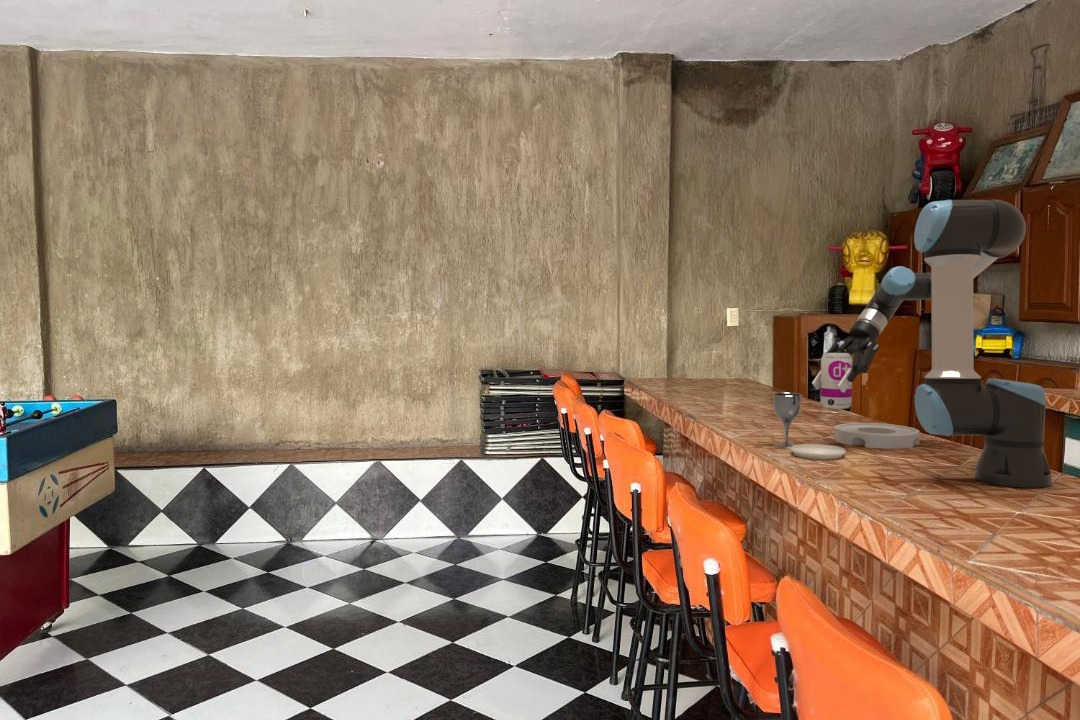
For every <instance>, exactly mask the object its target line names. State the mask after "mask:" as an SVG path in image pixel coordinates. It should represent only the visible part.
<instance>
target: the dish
mask: <svg viewBox="0 0 1080 720" xmlns="http://www.w3.org/2000/svg"><path fill="white" fill-rule="evenodd" d="M790 452H792V453H793V455H794V456H795V457H798V458H801V459H802V458H803V459H808V460H819V461H828V460H829V461H830V460H838V459H842V458H843V456H844V455H845V454H846V449H845V448H843V447H841V446H837V445H833V444H821V443H801V444H795V445H793V446H791V448H790Z"/></svg>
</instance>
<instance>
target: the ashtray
mask: <svg viewBox="0 0 1080 720" xmlns="http://www.w3.org/2000/svg"><path fill="white" fill-rule="evenodd" d="M920 436H921V435H920V430H919V429H917V428H914V427H910V426H905V425H898V424H892V423H891V424H890V423H877V422H876V423H875V422H852V423H851V422H850V423H842V424H841V423H840V424H837V425H835V426H834V441H836V442H838V443H840V444H843V445H847V446H864V447H865V448H868V449H869V448H871V449H886V450H887V449H888V450H889V449H893V450H894V449H895V450H896V449H909V448H910V449H911V448H914V446H919V445H920Z"/></svg>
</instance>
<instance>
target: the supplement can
mask: <svg viewBox="0 0 1080 720" xmlns="http://www.w3.org/2000/svg"><path fill="white" fill-rule="evenodd" d="M820 359H821V387H820V399H819V400H820V406H822V407H823V408H826V409H836V410H837V409H839V410H841V409H843V410H844V409H850V407H851V406H852V401H853V399H852V398H853V395H852V394H853V393H852V391H853V385H852V384H853V382H851V383H850V385H849V386H848V388H847V389H846V391H845V392H842V391H841V390H840V389H839V387H838V386H837V385H838V384H839V382H840V381H841V379H842V378H843V376H844V375H845V374H846V372H847V371H848V369H849V368H852V367H851V366H852V365H853V358H852V356H851V355H850V354H849V353H847V352H846V353H826V352H824V353H823V355H822V356H821V358H820ZM852 369H853V368H852Z"/></svg>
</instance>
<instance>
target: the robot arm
mask: <svg viewBox="0 0 1080 720" xmlns="http://www.w3.org/2000/svg"><path fill="white" fill-rule="evenodd" d="M914 228H915V229H914V234H913V235H914V236H913V242H914V247H915V250H917V252H920V253H921V254H923V253H924V255H923V257H924V258H923V260H924V262H925V263H927V265H928V266H930V268H931V272H913V270H912V269H910V268H909V267H908V268H907V267H905V266H901V265H900V266H899V265H898V266H894V267H892V268H890V269H889V270H888V271H887V272H886V274H885V275H884V276H883V278H882V281H881V282H880V284H879V286H878V287H877V289H876V290H875V292H874V293H873V295H872V297H871V298H870V300H869V301H868V303H867V305H866V306H865V308H864V309H863V310H862V311H861V313H860V315H859V316H858V317H857V318H856V321H855V322H854V324H853V325H852V327H851V328H850V329H849V332H848V333H849V334H848V336H847V338H845V339H844V340H840V339H836V340H835V341H834V343H833V345H832V346H831V347H830V348H829V349H828V350H827V351H826V352H825V353H849V354H850V356H851V355H853V360H852V366H851V367H852V368H849V369H848V371H847V372H846V374H845V375H844V376H843V378H842V379H841V381H840V382H839V384H838V385H837V386H838V387H839V389H840V390H841V391H842V392H845V391H846V389H847V388H848V386H849V385H850V383H851V382H852V383H853V382H855V379H856V378H857V377H858V375H860V374H861V373H863V374H866V373H868V371H869V369H870V366H871V364H872V362H873V359H874V357H875V355H876V353H877V352H878V351H879V350H880V349H881V348H880V345H879V344H878V343H877V340H878V339H879V337H880V334H881V333H882V332H883V331H884V329H885V328H886V326H887V325H888V323H889V321H890V320H891V319H892V317H893V316H894V315H895V313H896V311H897V310H898V309H899V308H900V306H901V304H902V303H903V302H904V301H931V370H930V371H929V372H928V373H927V374H926V375H924V383H922V384H920V385H918V386H917V387H916V389H915V394H914V408H915V413H916V417H917V420H918V422H919V424H920V426H921V427H922V429H924V430H925V432H927V433H928V434H930V435H936V436H937V435H938V436H945V437H951V436H984V446H983V448H982V452H981V453H980V456H979V459H978V461H977V463H976V466H975V470H974V471H975V473H974V477H975V479H977V480H978V481H980V482H984V483H989V484H993V485H997V486H1005V487H1011V488H1023V489H1024V488H1027V489H1029V488H1031V489H1032V488H1033V489H1035V488H1036V489H1037V488H1039V489H1040V488H1046V487H1049V486H1052V476H1053V475H1052V471H1051V469H1050V467H1049V462H1048V460H1047V457H1046V453H1045V449H1044V444H1045V443H1044V442H1045V424H1046V408H1047V401H1046V400H1047V398H1046V391H1045V389H1044V388H1043V386H1041V385H1038V384H1035V383H1029V382H1023V381H1017V380H1009V379H999V378H988V379H987V380H986V382H985V384H982V377H981V375H980V374H978V373H977V372H976V371H975V368H974V367H975V366H974V279H975V278H976V277H978V275H979V274H981V273H983V272H984V271H985V270H986V269H987V268H988V267H989V266H990V265H992V264H993V263H994V262H996V261H997V260H998V259H1003V258H1006V257H1008V256H1009V255H1011V254H1012V253H1013V252H1014V251H1015V250H1017V249H1018V248H1019V247H1020V245H1021V244H1022V243H1023V241H1024V239H1025V236H1026V232H1027V223H1026V220H1025V217H1024V215H1023V214H1022V211H1020V210H1019V208H1017V207H1016V206H1014V205H1013V204H1012V203H1009V202H1007V201H1004V200H1002V199H945V200H935V201H934V200H933V201H931V202H929V203H927V204H925V206H924V207H923V208H922V210H921V212H920V213H919V216H918V218H917V220H916V224H915V227H914ZM817 365H818V366H819V370H818V371H817V372H816V374H815V378H814V379H813V380H812V382H811V384H812V385H813V387H814V388H815V390H819V391H820V389H821V358H820V359H819V360H818V361H817Z"/></svg>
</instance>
